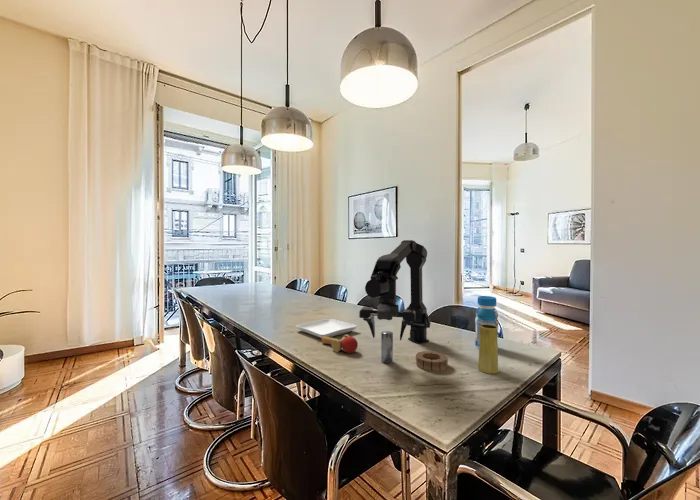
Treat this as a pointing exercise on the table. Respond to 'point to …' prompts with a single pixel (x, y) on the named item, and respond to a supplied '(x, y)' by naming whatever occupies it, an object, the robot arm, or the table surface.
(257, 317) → the table surface
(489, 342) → the vase
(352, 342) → the kendama
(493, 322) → the beverage bottle
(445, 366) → the bead ring
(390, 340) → the grey metal cylinder
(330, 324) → the salad plate
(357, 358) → the table surface
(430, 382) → the table surface
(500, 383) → the table surface
